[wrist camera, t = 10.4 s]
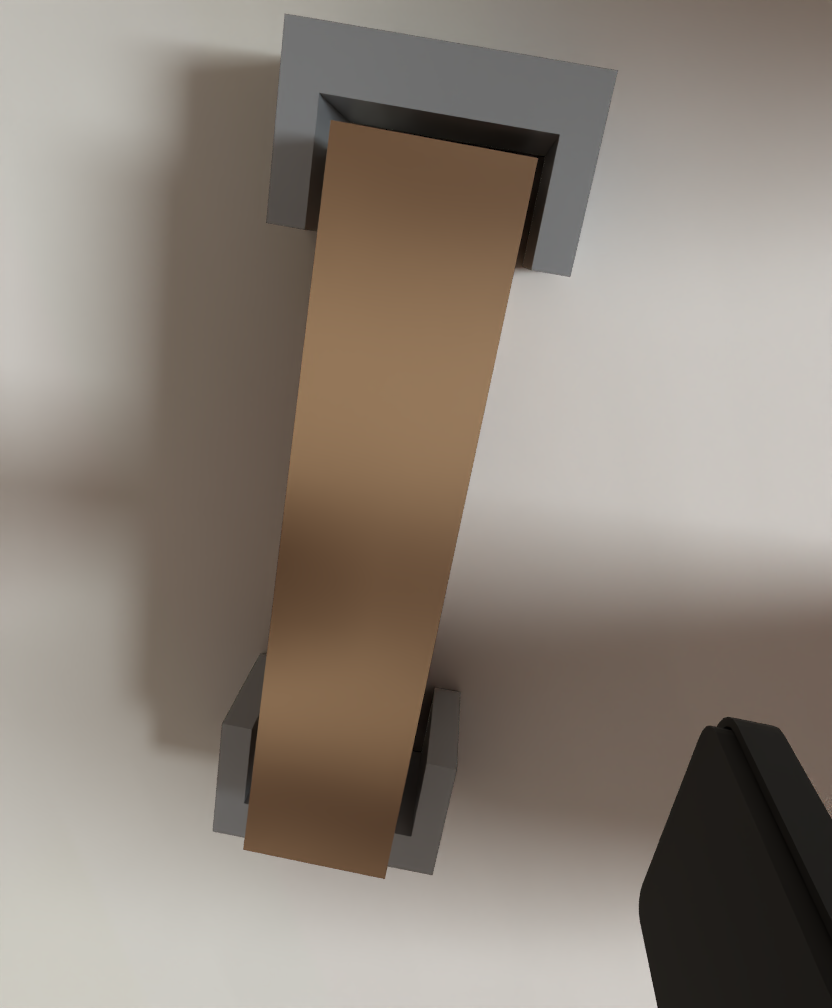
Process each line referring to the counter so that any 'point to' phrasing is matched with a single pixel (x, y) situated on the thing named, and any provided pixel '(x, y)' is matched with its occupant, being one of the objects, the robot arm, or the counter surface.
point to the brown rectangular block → (378, 478)
